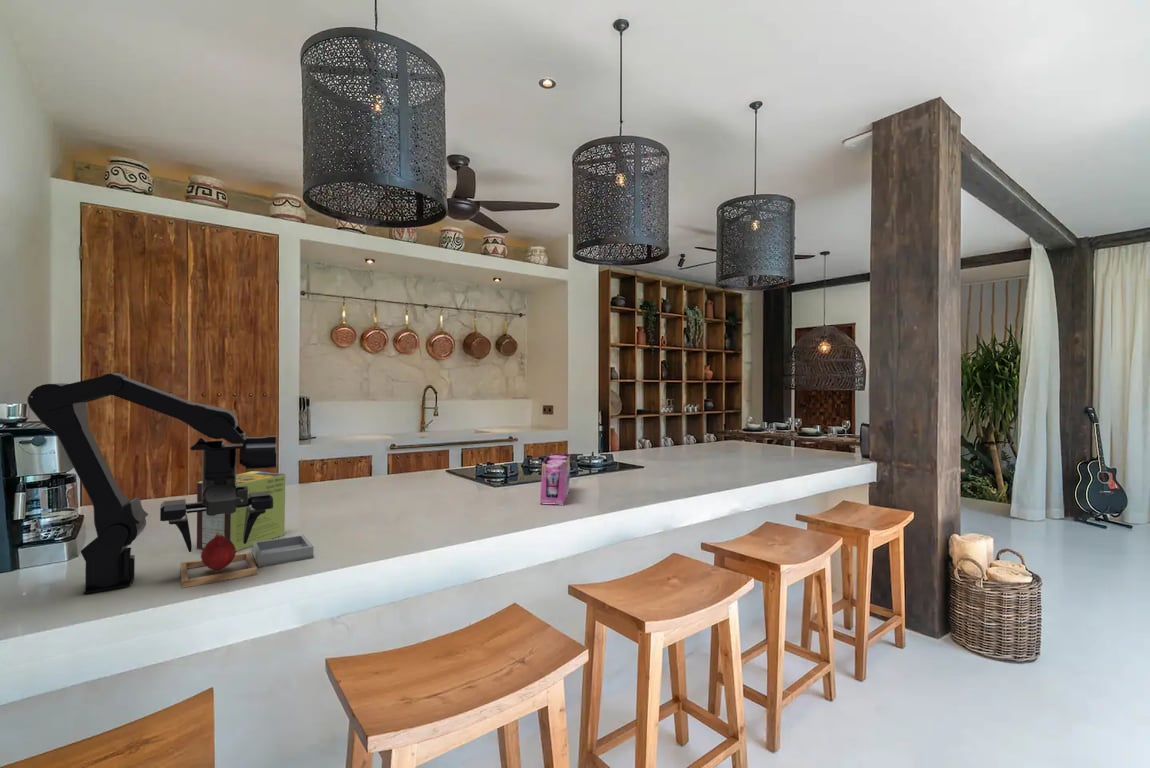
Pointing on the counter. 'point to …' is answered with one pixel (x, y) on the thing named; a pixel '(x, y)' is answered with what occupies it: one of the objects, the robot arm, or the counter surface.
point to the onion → (218, 553)
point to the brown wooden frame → (217, 577)
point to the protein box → (233, 524)
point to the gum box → (555, 478)
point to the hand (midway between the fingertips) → (218, 547)
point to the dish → (281, 550)
